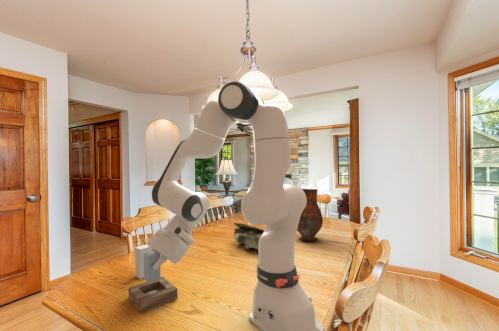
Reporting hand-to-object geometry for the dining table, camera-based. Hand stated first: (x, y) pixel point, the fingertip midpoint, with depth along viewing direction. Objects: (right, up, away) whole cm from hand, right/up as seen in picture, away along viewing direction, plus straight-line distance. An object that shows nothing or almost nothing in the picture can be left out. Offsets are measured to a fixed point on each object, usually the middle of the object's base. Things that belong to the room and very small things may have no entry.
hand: (150, 265), depth 84 cm
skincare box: (-9, -11, +18) cm, 23 cm away
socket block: (+1, -11, 0) cm, 11 cm away
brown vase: (+67, -10, +62) cm, 92 cm away
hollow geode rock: (+36, -11, +51) cm, 63 cm away
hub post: (0, -5, +1) cm, 5 cm away
